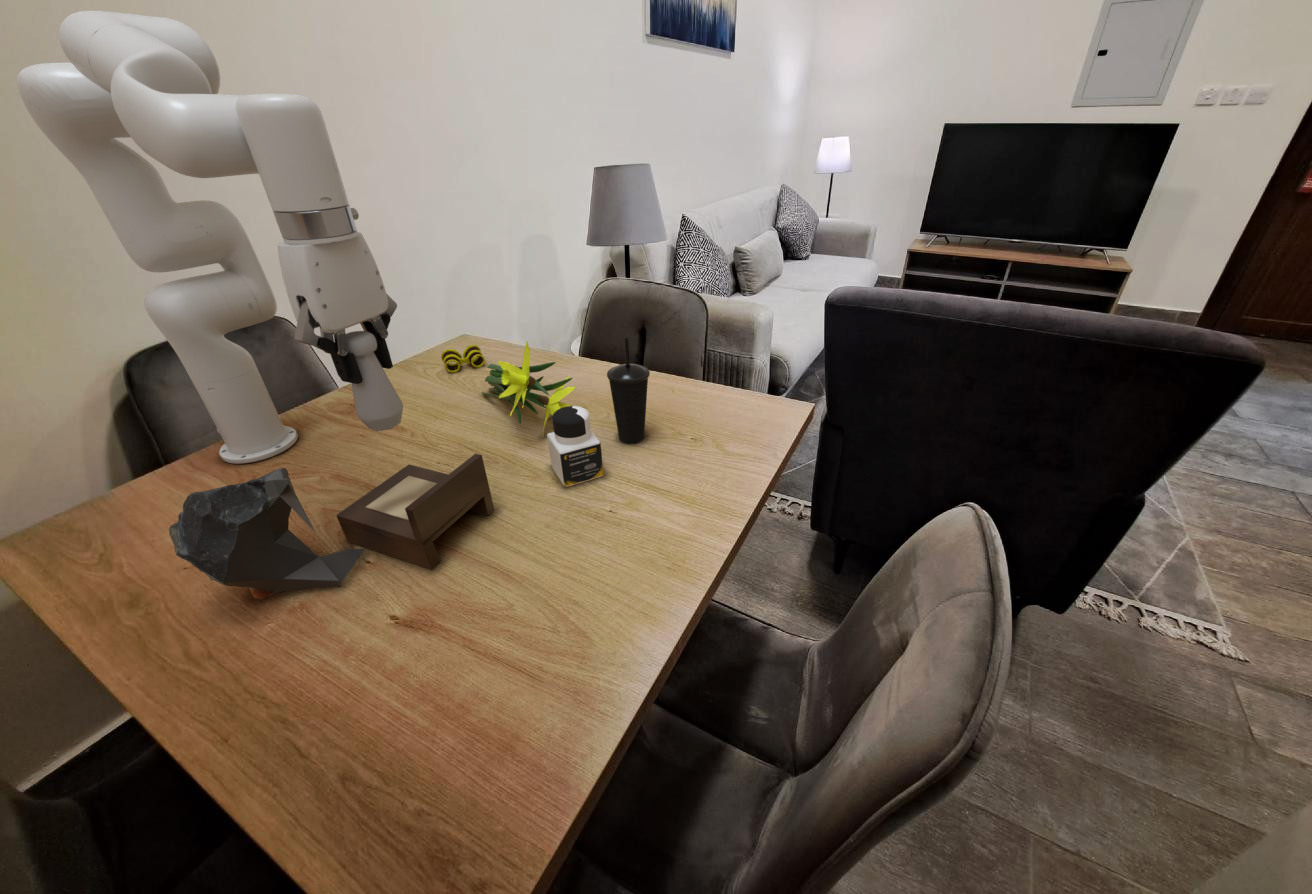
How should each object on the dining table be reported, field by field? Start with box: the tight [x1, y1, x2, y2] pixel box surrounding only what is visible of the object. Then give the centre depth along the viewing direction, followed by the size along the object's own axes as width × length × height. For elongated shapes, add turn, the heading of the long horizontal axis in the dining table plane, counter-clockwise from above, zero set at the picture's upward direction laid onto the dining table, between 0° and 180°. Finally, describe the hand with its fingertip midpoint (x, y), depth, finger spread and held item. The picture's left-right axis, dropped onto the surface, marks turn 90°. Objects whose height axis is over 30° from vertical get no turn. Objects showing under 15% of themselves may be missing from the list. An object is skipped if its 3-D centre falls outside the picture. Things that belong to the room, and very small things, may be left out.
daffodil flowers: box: [481, 341, 577, 438], centre depth 106 cm, size 17×15×35 cm
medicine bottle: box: [546, 405, 604, 488], centre depth 89 cm, size 7×7×12 cm
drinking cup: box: [606, 337, 651, 445], centre depth 96 cm, size 8×8×20 cm
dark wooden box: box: [335, 453, 496, 571], centre depth 78 cm, size 16×14×10 cm
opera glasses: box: [440, 344, 486, 373], centre depth 132 cm, size 10×5×5 cm, turn 118°
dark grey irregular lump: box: [168, 467, 367, 600], centre depth 67 cm, size 14×15×18 cm
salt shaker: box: [346, 330, 404, 432], centre depth 70 cm, size 6×6×13 cm
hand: (367, 372), depth 69 cm, fingers closed on salt shaker, 4 cm apart
